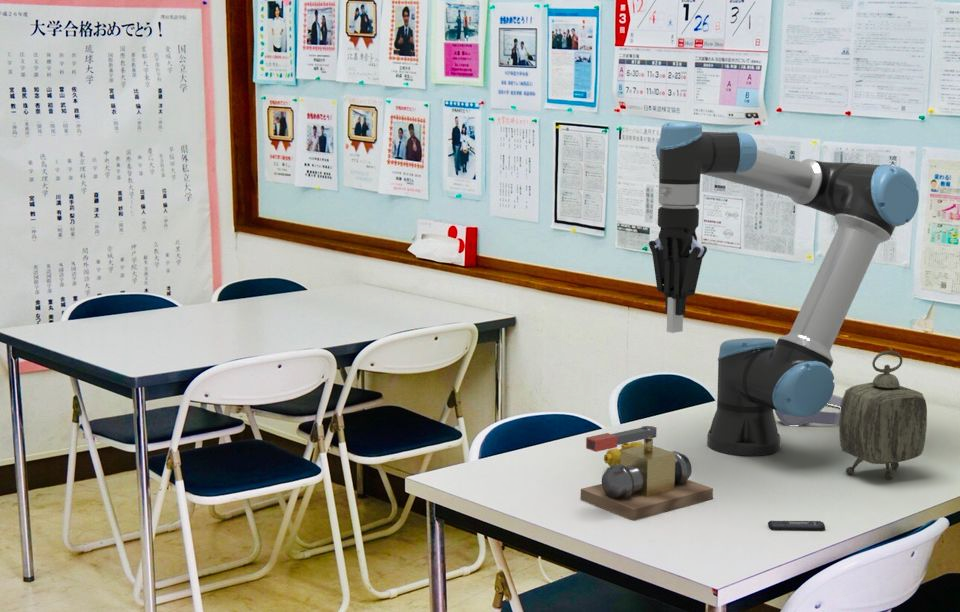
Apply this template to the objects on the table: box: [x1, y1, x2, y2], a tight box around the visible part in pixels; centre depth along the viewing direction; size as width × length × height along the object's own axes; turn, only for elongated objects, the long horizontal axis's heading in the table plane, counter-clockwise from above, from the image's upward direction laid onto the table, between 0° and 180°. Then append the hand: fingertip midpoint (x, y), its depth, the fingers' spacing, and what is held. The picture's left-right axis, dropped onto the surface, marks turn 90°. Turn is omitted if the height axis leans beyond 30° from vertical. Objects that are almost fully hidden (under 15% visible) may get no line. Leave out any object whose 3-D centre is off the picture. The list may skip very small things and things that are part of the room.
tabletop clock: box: [838, 350, 928, 481], centre depth 238 cm, size 14×9×25 cm, turn 111°
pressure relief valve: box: [603, 441, 644, 467], centre depth 240 cm, size 6×12×10 cm
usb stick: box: [767, 520, 826, 532], centre depth 211 cm, size 10×3×2 cm, turn 88°
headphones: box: [774, 393, 843, 426], centre depth 285 cm, size 22×7×20 cm
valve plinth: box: [580, 479, 714, 521], centre depth 225 cm, size 20×14×2 cm
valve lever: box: [585, 425, 657, 453], centre depth 220 cm, size 15×3×2 cm, turn 127°
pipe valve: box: [601, 438, 693, 499], centre depth 224 cm, size 18×7×10 cm, turn 127°
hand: (674, 331), depth 231 cm, fingers closed
